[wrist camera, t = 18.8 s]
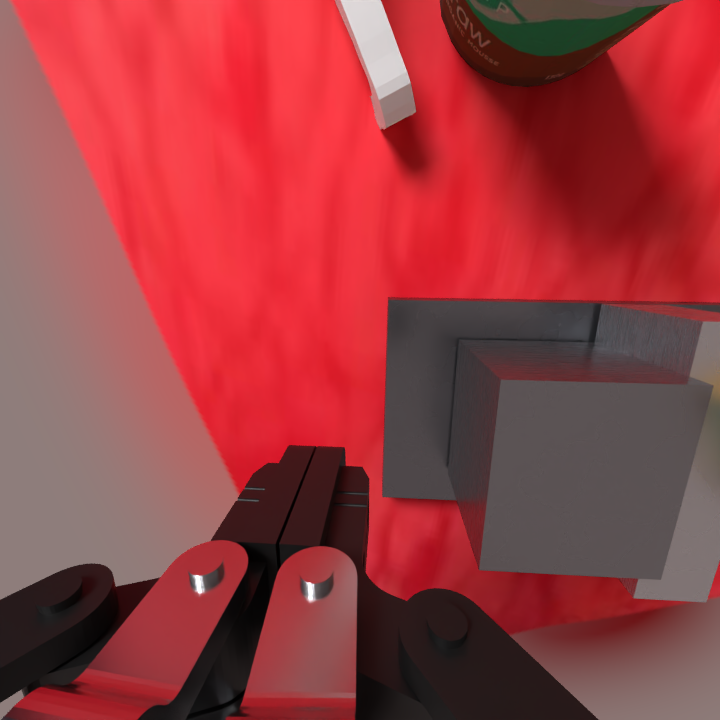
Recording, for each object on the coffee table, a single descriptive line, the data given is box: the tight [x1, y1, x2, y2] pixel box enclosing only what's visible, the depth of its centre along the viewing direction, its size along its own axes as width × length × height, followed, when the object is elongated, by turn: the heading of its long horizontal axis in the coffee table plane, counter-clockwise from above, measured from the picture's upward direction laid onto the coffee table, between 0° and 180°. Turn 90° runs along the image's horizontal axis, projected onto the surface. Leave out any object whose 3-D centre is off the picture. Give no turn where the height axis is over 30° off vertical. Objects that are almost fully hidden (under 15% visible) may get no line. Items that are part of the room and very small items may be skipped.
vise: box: [382, 297, 720, 500], centre depth 18 cm, size 12×25×8 cm, turn 89°
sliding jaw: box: [448, 304, 720, 602], centre depth 17 cm, size 12×10×7 cm
